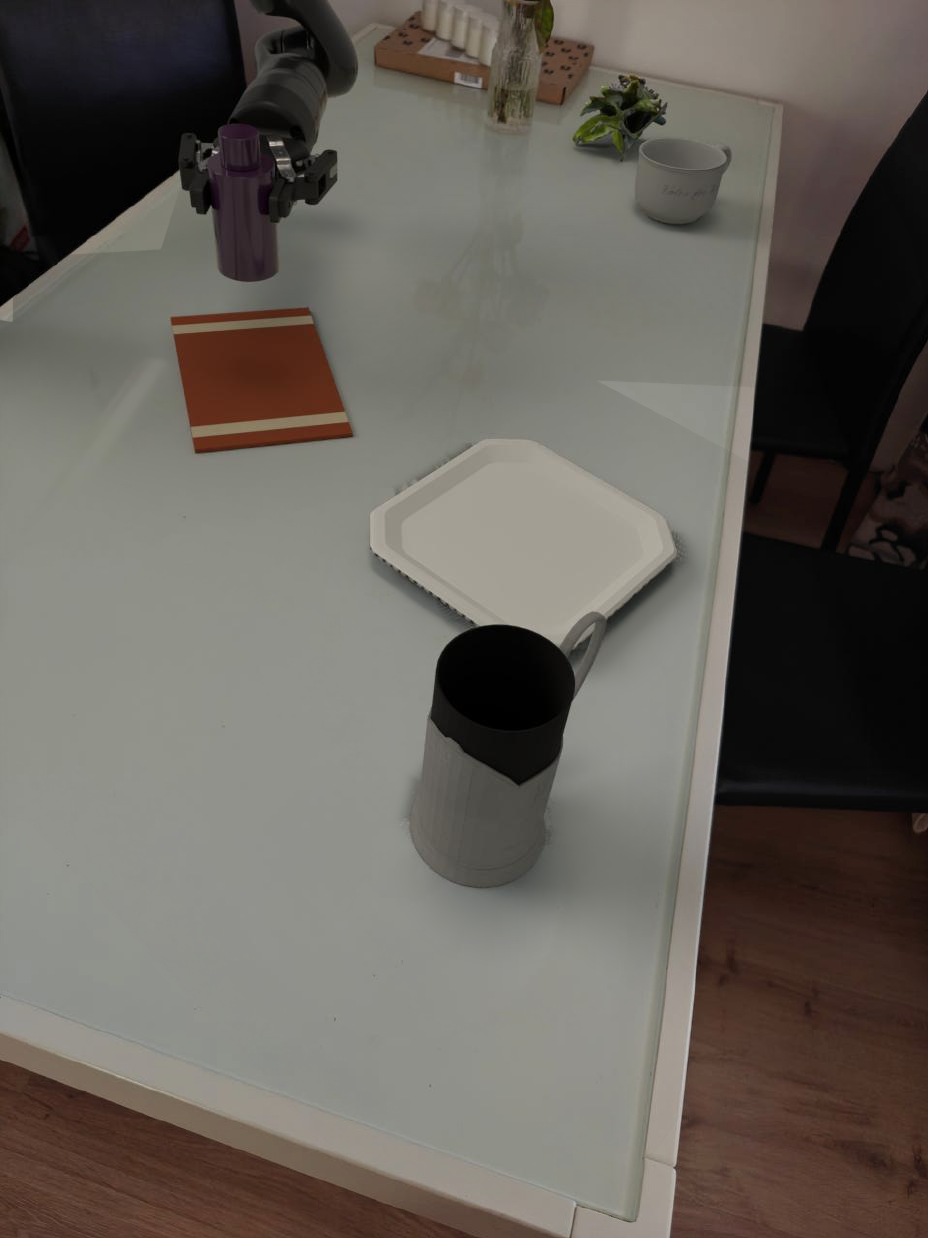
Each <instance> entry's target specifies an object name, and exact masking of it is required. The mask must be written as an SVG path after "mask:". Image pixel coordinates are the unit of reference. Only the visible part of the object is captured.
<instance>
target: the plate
mask: <svg viewBox="0 0 928 1238" xmlns="http://www.w3.org/2000/svg"><path fill="white" fill-rule="evenodd" d="M369 549H370V551H371V552H372V554H373V556H374V557H376V558H378V560H380V561H382V562H383V563H385V564H386V565H387V566H389V567H391V568H392V569H393V570H395V571H396V572H397V573H399V574H400V575H402V576H403V577H405V578H406V579H408V580H409V581H411V582H412V583H414V584H415V585H416V586H417V587H419V588H420V589H422V590H424V591H425V592H426V593H428V594H429V595H430V596H432V597H434V599H436V600H438V601H439V602H441V603H443V605H445V606H446V607H448V608H449V609H451V610H452V611H454V612H455V613H456V614H458V615H459V616H461V617H462V618H463V619H465V620H466V621H468V622H469V623H471V624H472V625H473V626H475V628H476V627H480V626H484V625H493V624H502V625H512V626H518V627H522V628H525V629H529V630H531V631H534V632H536V633H538V634H540V635H542V636H544V637H545V638H547V639H549V640H550V641H551V642H552V643H554V644H555V645H556V646H557V647H558V648H559V647H560V645H561V643H562V642H563V640H564V638H565V637H566V635H567V634H568V633H569V631H570V630H571V628H572V627H573V626H574V625H575V624H576V623H577V622H578V621H579V620H580V619H581V618H582V617H583V616H585V615H586V614H588V613H590V612H592V611H594V612H599V613H600V614H602V615H603V616H604V617H605V618H606V621H607V620H608V619H610V618H611V617H612V616H613V615H614V614H615V613H616V612H618V610H620V609H621V608H622V607H623V606H624V605H625V604H626V603H628V602H629V601H630V600H631V599H632V598H634V596H635V595H637V594H638V593H639V592H640V591H641V590H642V589H643V588H645V586H647V585H648V584H649V583H650V582H651V581H652V580H653V579H654V578H656V577H657V576H658V575H659V574H660V573H662V571H663V570H665V568H667V567H668V566H669V565H670V564H672V563H673V561H675V560H676V558H677V554H678V550H677V546H676V543H675V541H674V537H673V534H672V531H671V528H670V525H669V521H668V520H667V519H666V518H665V517H664V516H663V515H662V514H660V513H658V512H657V511H655V510H653V508H650V507H648V506H647V505H645V504H643V503H641V502H640V501H638V500H637V499H635V498H633V497H631V496H630V495H628V494H626V493H624V492H623V491H621V490H619V489H617V488H616V487H614V486H612V485H611V484H609V483H608V482H606V481H604V480H602V479H601V478H598V477H597V476H595V475H594V474H592V473H590V472H588V471H587V470H585V469H583V468H581V467H580V466H578V465H576V464H574V463H572V462H571V461H569V460H568V459H566V458H564V457H562V456H560V455H559V454H557V453H556V452H554V451H552V450H551V449H549V448H547V447H545V446H543V445H542V444H541V443H539V442H536V441H534V440H531V439H518V438H517V439H513V438H486V439H482V440H480V441H479V442H477V443H476V444H474V445H472V446H471V447H469V448H467V450H464V451H463V452H461V453H460V454H459V455H457V456H456V457H454V458H452V459H451V460H449V461H448V462H446V463H445V464H444V465H441V466H440V467H438V468H437V469H435V470H434V471H432V472H430V473H429V474H427V475H426V476H424V477H423V478H421V479H420V480H418V481H417V482H415V483H413V484H411V485H410V486H409V487H407V488H405V489H404V490H402V491H401V492H399V493H398V494H396V495H395V496H393V497H391V498H390V499H388V500H386V501H385V502H383V503H382V504H380V505H379V506H378V507H375V508H374V509H373V510H372V511H371V513H370V515H369ZM594 627H595V623H593V624H592V625H591V626H589V627H588V628H587V629H586V631H585V632H584V633H583V634H582V635H581V637H580V638H579V639H578V641H577V642H576V644H575V645H574V647H573V649H572V650H571V651H573V650H575V649H576V648H577V647H578V646H580V645H581V644H582V643H583V642H584V641H586V639H588V638H589V637H590V636H592V634H593V631H594Z"/></svg>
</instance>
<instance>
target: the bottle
mask: <svg viewBox="0 0 928 1238" xmlns="http://www.w3.org/2000/svg"><path fill="white" fill-rule="evenodd" d="M217 137H218V139H219V150H220V152H218V153H216V154H214V155H212V156H211V157H210V158H209V159H208V161H207V170H208V180H209V190H210V199H211V206H210V208H211V217H212V228H213V229H212V230H213V237H214V246H215V247H214V248H215V257H216V267H217V270H218V272H219V273H220V274H221V275H222V276H224V277H226V279H230V280H233V281H236V282H242V283H256V282H261V281H262V282H263V281H266V280H268V279H271V278H273V277H275V276H276V275H277V274H278V273H279V272H280V269H281V261H280V259H281V257H280V240H279V239H280V238H279V223H272V222H270V214H269V196H270V194H271V191H272V189H273V187H274V185H275V164H274V161H273V160H272V159H271V158H270V157H269V156H267V155H265V154H263V153H260V142H259V131H258V130H257V129H256V128H255V127H253V126H250V125H246V124H228V125H227V124H224V125H222V126H220V127H219V128H218V130H217Z"/></svg>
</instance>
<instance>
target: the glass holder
mask: <svg viewBox="0 0 928 1238" xmlns="http://www.w3.org/2000/svg"><path fill="white" fill-rule="evenodd" d="M607 622H608V621H607V620H606V618H605V617H604V616H603V615H602V614H600V613H599V612H594V611H592V612H590V613H588V614H586V615H585V616H583V617H582V618H581V619H580V620H579V621H578V622H577V623H576V624H575V625H574V626H573V627H572V628H571V630H570V631H569V633H568V634H567V635H566V637H565V638H564V640H563V642H562V643H561V645H560V647H559V648H558V647H557V646H556V645H555V644H554V643H552V642H551V641H550V640H549V639H547V638H545V637H544V636H542V635H540V634H538V633H536V632H534V631H531V630H529V629H525V628H522V627H518V626H512V625H502V624H493V625H484V626H480V627H476V626H475V627H473V628H470V629H467V630H465V631H463V632H461V633H459V634H458V635H457V636H455V637H453V638H452V639H451V640H450V641H449V642H448V643H447V644H445V646H444V648H443V649H442V650H441V652H440V654H439V656H438V659H437V661H436V666H435V672H434V673H435V674H434V681H433V682H434V683H433V692H432V703H431V707H430V710H429V712H428V715H427V718H426V728H425V739H424V748H423V758H422V769H421V777H420V787H419V793H418V795H417V796H416V798H415V800H414V804H413V805H412V808H411V811H410V817H409V832H410V836H411V842H412V843H413V845H414V848H415V850H416V852H417V853H418V855H419V857H420V858H421V859H422V861H423V862H424V863H425V864H426V865H427V866H428V867H429V868H430V869H431V870H432V871H433V872H435V873H436V874H438V875H439V876H440V877H442V878H444V879H446V880H448V881H450V882H452V883H455V884H459V885H462V886H467V887H472V888H491V887H496V886H497V887H498V886H502V885H505V884H507V883H510V882H513V881H515V880H516V879H518V878H520V877H522V876H523V875H524V874H525V873H526V872H528V871H529V870H530V869H531V868H532V867H533V866H534V864H535V863H536V862H537V861H538V859H539V857H540V856H541V853H542V851H543V848H544V844H545V841H546V830H547V829H546V822H545V821H546V820H545V813H546V811H547V806H548V803H549V799H550V795H551V792H552V788H553V784H554V781H555V777H556V773H557V770H558V768H559V767H558V766H559V764H560V760H561V757H562V752H563V749H564V733H565V729H566V725H567V722H568V719H569V716H570V715H569V714H570V712H571V711H570V710H571V707H572V704H573V701H574V700H575V698H576V697H577V696H578V694H579V692H580V690H581V688H582V686H583V684H584V682H585V681H586V678H587V677H588V675H589V673H590V671H591V669H592V667H593V665H594V663H595V661H596V659H597V655H598V654H599V651H600V648H601V646H602V643H603V639H604V636H605V633H606V630H607V629H606V628H607ZM593 623H595V627H594V631H593V633H592V634H591V638H590V640H589V642H588V646H587V648H586V651H585V653H584V656H583V658H582V660H581V662H580V664H579V666H578V668H577V670H576V672H575V671H574V669H573V667H572V664H571V662H570V660H569V659H568V658H569V657H570V654H571V652H572V651H573V650H574V649H573V647H574V645H575V644H576V642H577V641H578V639H579V638H580V637H581V635H582V634H583V633H584V632H585V631H586V629H587V628H588V627H589V626H591V625H592V624H593ZM572 649H573V650H572Z"/></svg>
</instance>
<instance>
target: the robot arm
mask: <svg viewBox="0 0 928 1238" xmlns="http://www.w3.org/2000/svg"><path fill="white" fill-rule="evenodd" d="M246 1H247V3H248V5H249V6H250V8H251V9H252V11H254V12H256V13H257V14H259V15H263V16H266V17H277V18H286V19H291V20H294V21H296V22H297V23H298V25H293V26H292V25H291V26H288V27H285V28H279V29H274V30H271V31H268V32H267V33H265V34H263V35H262V36H260V38H259V39H258V40H257V41H256V42H255V45H254V50H253V60H254V67H255V68H254V69H255V72H256V77H255V79H254V80H253V81H251V82H250V84H249V85H248V86H247V88H246V89H245V90H244V91H243V93H242V95H241V97H240V99H239V101H238V102H237V104H236V106H235V108H234V110H233V111H232V113H231V115H230V117H229V118H228V120H227V123H226V125H228V124H246V125H250V126H253V127H255V128H256V129H257V130H258V131H259V142H260V153H263V154H265V155H267V156H269V157H270V158H271V159H272V160H273V161H274V164H275V185H274V187H273V189H272V191H271V194H270V196H269V214H270V222H272V223H278V224H280V222H281V220H282V218H283V219H286V218H288V217H289V216H290V214H291V212H292V209H293V207H295V206H296V205H297V204H298V201H304V203H305V204H306V205H308V206H316V205H319V204H320V203H321V201H322V200H323V199H324V198H325V196H326V195H327V194H328V193H329V192H330V191H331V189H332V188H333V187H334V186H335V184H336V183H337V182H338V151H337V150H335V149H332V148H331V149H329V148H328V149H325V150H323V151H322V152H321V153H316V154H311V153H312V151H313V149H314V146H315V145H316V144H317V142H318V139H319V134H320V127H321V122H322V119H323V117H324V114H325V111H326V108H327V105H328V99H333V98H338V97H342V96H345V95H347V94H348V93H349V92H350V91H352V89H353V88H354V87H355V84H356V82H357V78H358V74H359V59H358V54H357V51H356V48H355V44H354V42H353V40H352V38H351V36H350V34H349V32H348V31H347V29H346V27H345V25H344V23H343V22H342V21H341V18H340V17H339V16H338V14H337V12H336V11H335V10H334V8H333V6H332V5H331V3H330V2H329V0H246ZM218 152H220V150H219V139H218V136H217V137H216V138H215V139H214V140H213V142H211V143H210V142H202V141H201V140H199V139H197V134H195V133H193V132H192V133H191V132H186V133H183V134H182V135H181V139H180V145H179V152H178V158H177V160H178V168H179V175H180V176H179V177H180V185H181V189H182V190H183V191H186V192H189V202H190V207H191V208H193V209H195V213H196V214H197V215H204V216H207V214H208V213H209V210H210V208H211V199H210V190H209V180H208V170H207V161H208V159H209V158H210V157H211V156H212V155H214V154H216V153H218ZM302 175H303V176H302Z"/></svg>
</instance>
